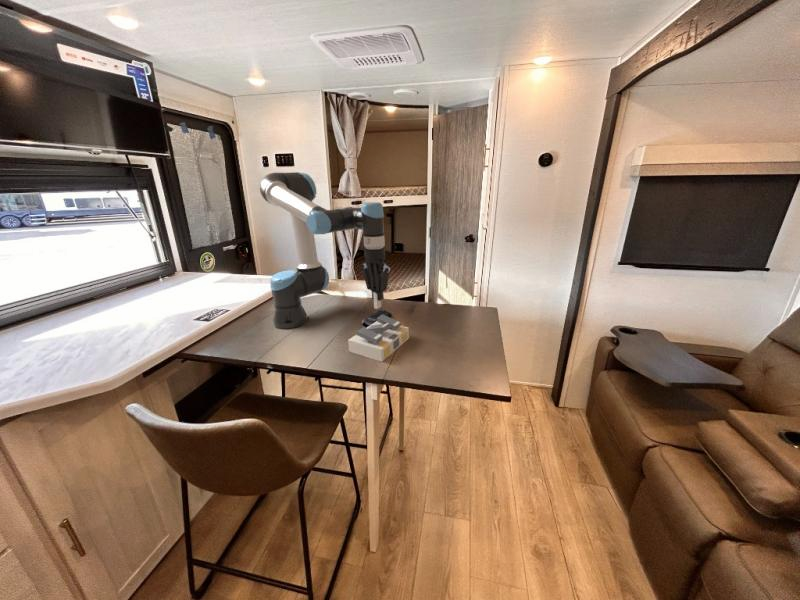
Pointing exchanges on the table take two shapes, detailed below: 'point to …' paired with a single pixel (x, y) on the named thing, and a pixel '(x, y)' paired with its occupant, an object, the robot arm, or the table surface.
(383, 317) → the block
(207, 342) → the table surface
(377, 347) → the switch unit
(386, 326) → the block
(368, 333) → the rocker
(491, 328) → the table surface
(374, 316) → the electronic device
